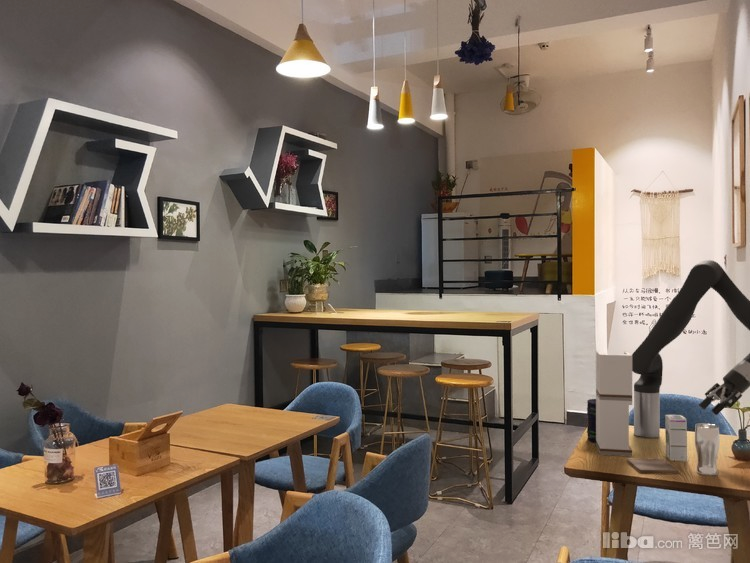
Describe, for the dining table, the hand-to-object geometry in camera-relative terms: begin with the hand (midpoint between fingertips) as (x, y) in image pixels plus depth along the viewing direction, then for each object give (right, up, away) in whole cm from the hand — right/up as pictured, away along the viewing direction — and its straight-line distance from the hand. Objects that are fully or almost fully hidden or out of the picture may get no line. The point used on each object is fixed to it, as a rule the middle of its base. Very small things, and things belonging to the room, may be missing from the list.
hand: (707, 410), depth 211 cm
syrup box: (-10, -17, +1) cm, 20 cm away
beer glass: (-8, -17, -14) cm, 24 cm away
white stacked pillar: (-28, -17, +11) cm, 34 cm away
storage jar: (-28, -17, +24) cm, 40 cm away
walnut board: (-23, -17, -9) cm, 30 cm away
